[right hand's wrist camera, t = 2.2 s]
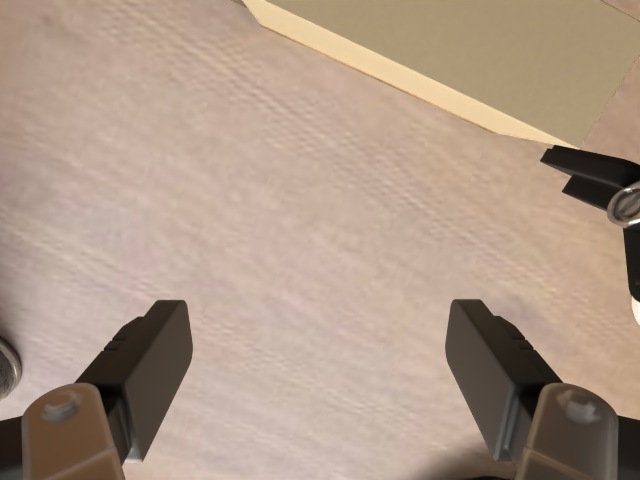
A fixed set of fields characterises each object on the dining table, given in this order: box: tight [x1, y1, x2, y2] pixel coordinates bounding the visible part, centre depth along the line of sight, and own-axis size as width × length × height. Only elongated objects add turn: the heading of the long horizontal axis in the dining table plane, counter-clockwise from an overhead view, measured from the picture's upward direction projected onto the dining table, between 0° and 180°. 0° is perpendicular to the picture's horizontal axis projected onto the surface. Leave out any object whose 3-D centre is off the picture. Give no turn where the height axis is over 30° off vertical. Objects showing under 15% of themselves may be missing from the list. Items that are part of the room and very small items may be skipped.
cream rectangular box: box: [242, 0, 640, 149], centre depth 24 cm, size 20×6×11 cm, turn 67°
